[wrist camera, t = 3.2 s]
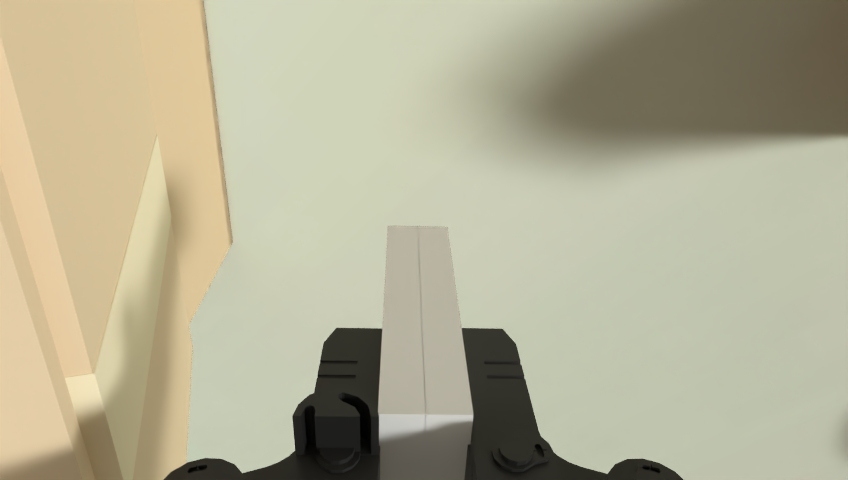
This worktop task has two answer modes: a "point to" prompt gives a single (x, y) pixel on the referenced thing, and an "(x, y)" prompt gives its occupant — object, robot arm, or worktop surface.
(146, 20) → the carton
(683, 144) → the worktop surface
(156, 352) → the lid
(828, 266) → the worktop surface
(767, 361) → the worktop surface
